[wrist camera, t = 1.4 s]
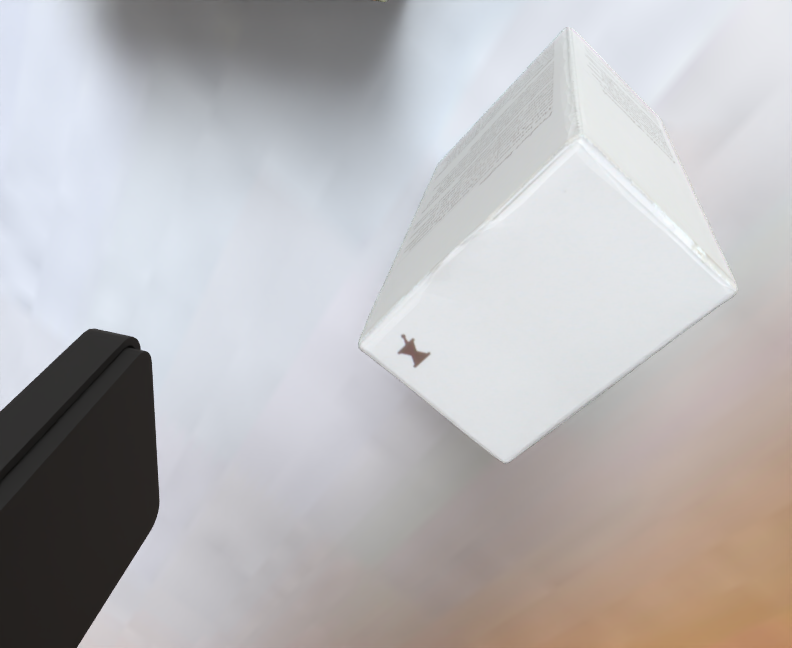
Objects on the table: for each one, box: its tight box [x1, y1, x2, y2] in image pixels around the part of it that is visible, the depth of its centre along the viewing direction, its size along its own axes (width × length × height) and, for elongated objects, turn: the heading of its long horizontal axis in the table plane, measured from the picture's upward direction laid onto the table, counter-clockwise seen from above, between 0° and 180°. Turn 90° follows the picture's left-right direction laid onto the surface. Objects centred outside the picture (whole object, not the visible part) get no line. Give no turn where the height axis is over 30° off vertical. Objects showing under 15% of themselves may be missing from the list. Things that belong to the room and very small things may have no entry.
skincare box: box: [358, 27, 738, 463], centre depth 19 cm, size 6×4×12 cm
